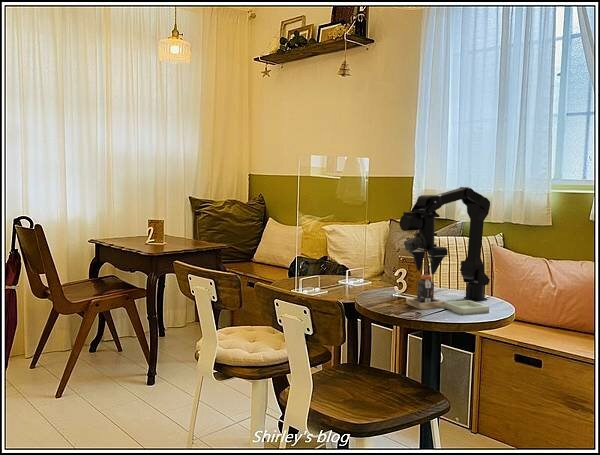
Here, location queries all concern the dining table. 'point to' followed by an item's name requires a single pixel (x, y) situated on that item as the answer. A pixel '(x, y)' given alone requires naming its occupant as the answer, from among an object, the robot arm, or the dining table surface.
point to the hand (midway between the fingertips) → (425, 272)
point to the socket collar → (427, 305)
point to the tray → (466, 307)
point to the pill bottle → (425, 289)
